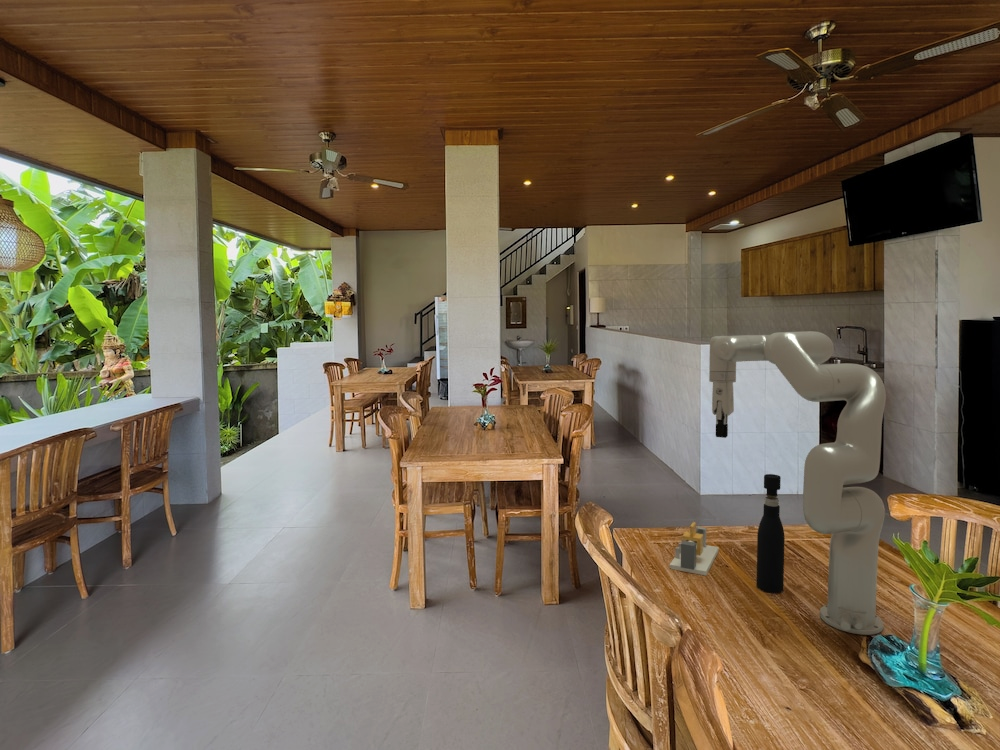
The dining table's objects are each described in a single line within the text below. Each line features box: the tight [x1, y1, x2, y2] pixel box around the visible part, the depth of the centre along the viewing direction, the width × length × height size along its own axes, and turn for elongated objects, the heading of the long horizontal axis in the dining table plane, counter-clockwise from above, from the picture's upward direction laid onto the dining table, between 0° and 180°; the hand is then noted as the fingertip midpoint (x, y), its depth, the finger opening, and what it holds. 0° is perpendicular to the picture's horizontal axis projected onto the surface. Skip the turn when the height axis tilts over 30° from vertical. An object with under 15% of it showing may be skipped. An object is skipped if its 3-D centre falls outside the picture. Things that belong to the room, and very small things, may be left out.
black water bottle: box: [756, 473, 786, 594], centre depth 150 cm, size 6×6×30 cm
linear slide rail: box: [669, 526, 720, 577], centre depth 170 cm, size 20×10×8 cm, turn 150°
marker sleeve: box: [682, 521, 703, 556], centre depth 167 cm, size 4×5×8 cm
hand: (721, 436), depth 176 cm, fingers closed
